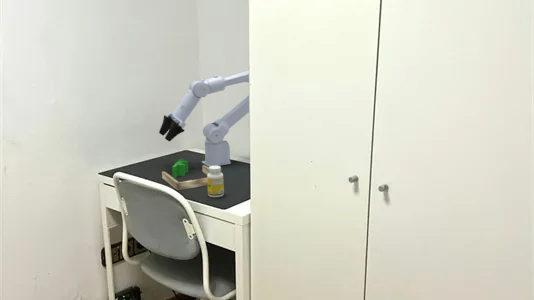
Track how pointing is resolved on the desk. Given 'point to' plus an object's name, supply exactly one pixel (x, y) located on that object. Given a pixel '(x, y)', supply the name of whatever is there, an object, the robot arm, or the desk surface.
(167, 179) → the birch bay
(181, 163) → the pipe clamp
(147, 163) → the desk surface
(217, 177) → the supplement bottle
